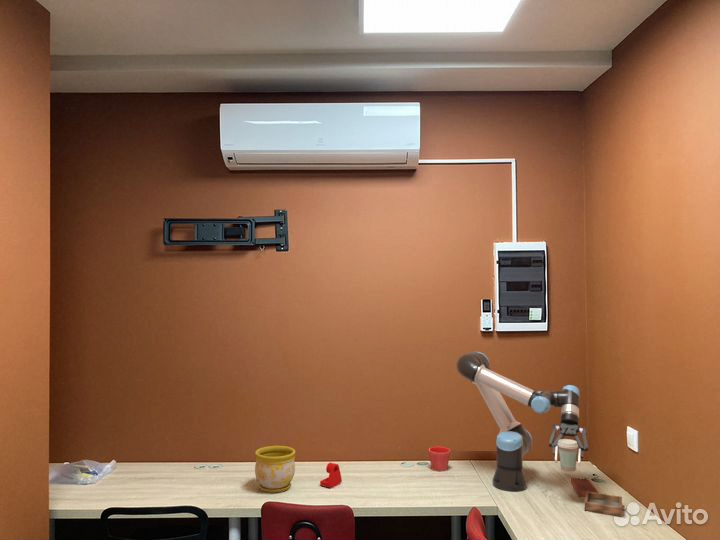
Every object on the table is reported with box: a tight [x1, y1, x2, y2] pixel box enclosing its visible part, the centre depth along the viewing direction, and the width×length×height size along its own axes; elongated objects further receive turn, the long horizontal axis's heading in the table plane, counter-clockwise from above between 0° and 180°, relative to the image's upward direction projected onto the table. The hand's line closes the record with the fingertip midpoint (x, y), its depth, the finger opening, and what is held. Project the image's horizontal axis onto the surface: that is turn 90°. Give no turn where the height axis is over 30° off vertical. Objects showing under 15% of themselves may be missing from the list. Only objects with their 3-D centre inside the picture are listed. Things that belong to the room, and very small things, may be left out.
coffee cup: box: [557, 438, 579, 473], centre depth 235 cm, size 9×9×12 cm
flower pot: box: [428, 446, 451, 472], centre depth 277 cm, size 11×11×10 cm
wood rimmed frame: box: [583, 491, 623, 518], centre depth 229 cm, size 14×14×4 cm
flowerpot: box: [254, 445, 296, 494], centre depth 248 cm, size 18×18×16 cm
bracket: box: [319, 462, 343, 489], centre depth 253 cm, size 9×6×10 cm
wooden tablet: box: [570, 477, 600, 498], centre depth 252 cm, size 27×10×2 cm, turn 169°
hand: (567, 462), depth 232 cm, fingers closed on coffee cup, 8 cm apart
